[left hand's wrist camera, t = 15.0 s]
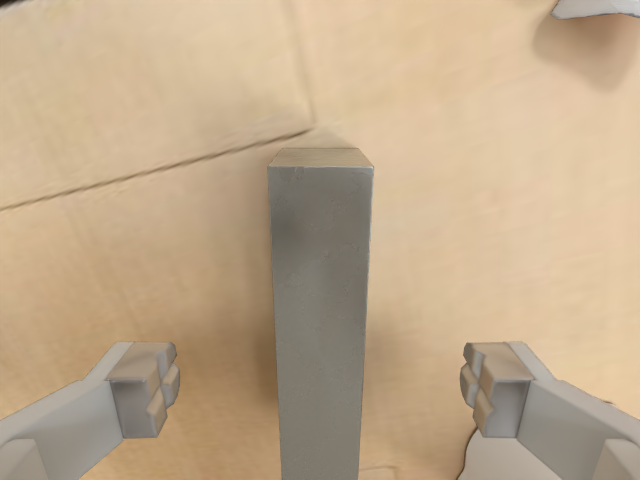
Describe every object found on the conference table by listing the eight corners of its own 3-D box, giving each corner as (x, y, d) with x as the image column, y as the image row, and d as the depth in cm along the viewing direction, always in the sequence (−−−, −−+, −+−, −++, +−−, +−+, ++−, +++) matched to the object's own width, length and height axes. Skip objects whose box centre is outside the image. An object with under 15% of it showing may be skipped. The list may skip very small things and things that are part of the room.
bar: (282, 148, 29) (267, 166, 21) (358, 148, 29) (374, 166, 21) (290, 404, 38) (282, 488, 30) (349, 404, 38) (357, 488, 30)
